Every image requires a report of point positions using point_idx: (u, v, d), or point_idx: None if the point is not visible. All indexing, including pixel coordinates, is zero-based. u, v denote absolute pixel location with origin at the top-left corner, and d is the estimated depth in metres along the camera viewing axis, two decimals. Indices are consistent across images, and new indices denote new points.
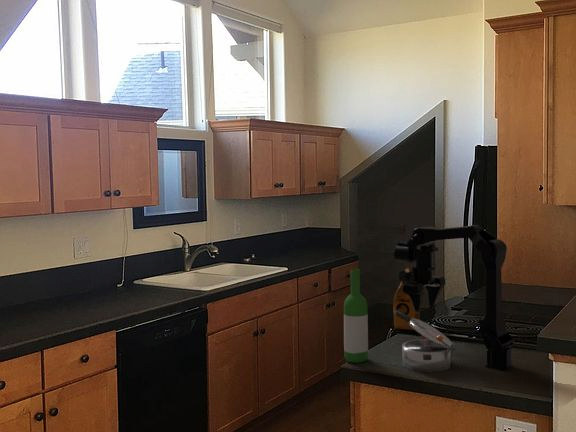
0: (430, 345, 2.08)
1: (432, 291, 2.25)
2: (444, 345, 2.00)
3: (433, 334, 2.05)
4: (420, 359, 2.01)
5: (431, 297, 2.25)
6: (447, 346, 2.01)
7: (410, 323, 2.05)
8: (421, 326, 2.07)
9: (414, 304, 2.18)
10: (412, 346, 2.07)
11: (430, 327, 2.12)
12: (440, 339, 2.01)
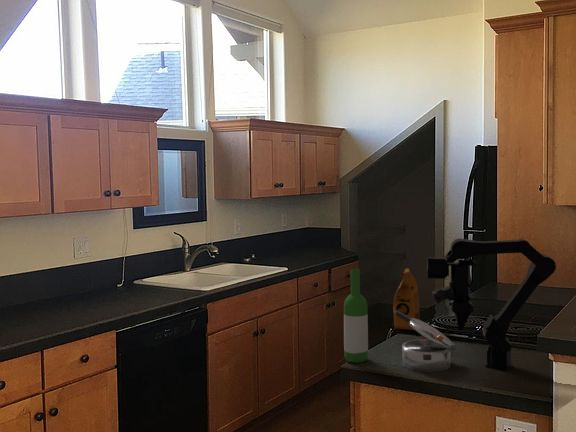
0: (430, 345, 2.08)
1: None
2: (444, 345, 2.00)
3: (433, 334, 2.05)
4: (420, 359, 2.01)
5: None
6: (447, 346, 2.01)
7: (410, 323, 2.05)
8: (421, 326, 2.07)
9: (459, 322, 2.02)
10: (412, 346, 2.07)
11: (430, 327, 2.12)
12: (440, 339, 2.01)
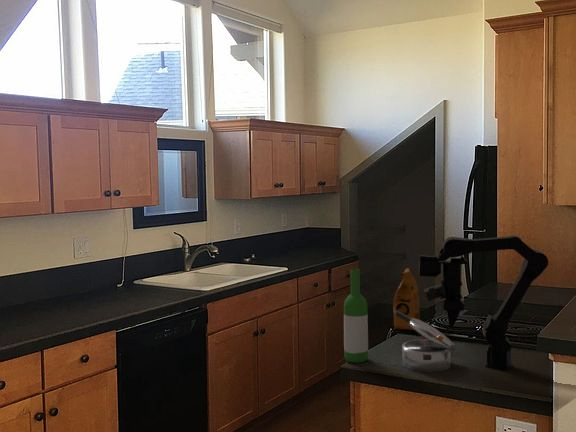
0: (430, 345, 2.08)
1: None
2: (444, 345, 2.00)
3: (433, 334, 2.05)
4: (420, 359, 2.01)
5: None
6: (447, 346, 2.01)
7: (410, 323, 2.05)
8: (421, 326, 2.07)
9: (450, 319, 2.04)
10: (412, 346, 2.07)
11: (430, 327, 2.12)
12: (440, 339, 2.01)
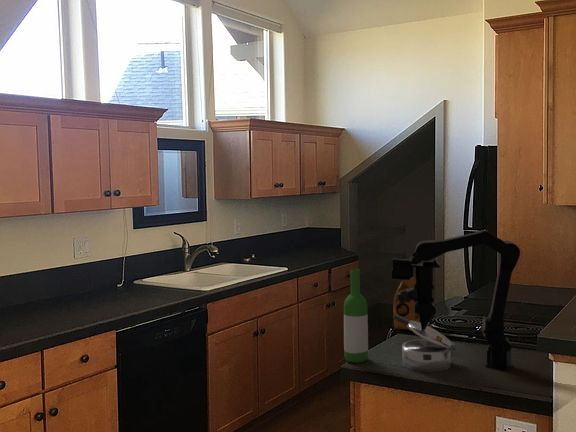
0: (430, 345, 2.08)
1: None
2: (444, 345, 2.00)
3: (432, 335, 2.05)
4: (420, 359, 2.01)
5: None
6: (447, 346, 2.01)
7: (408, 326, 2.05)
8: (420, 328, 2.07)
9: (422, 322, 2.06)
10: (412, 346, 2.07)
11: (429, 328, 2.12)
12: (439, 340, 2.01)
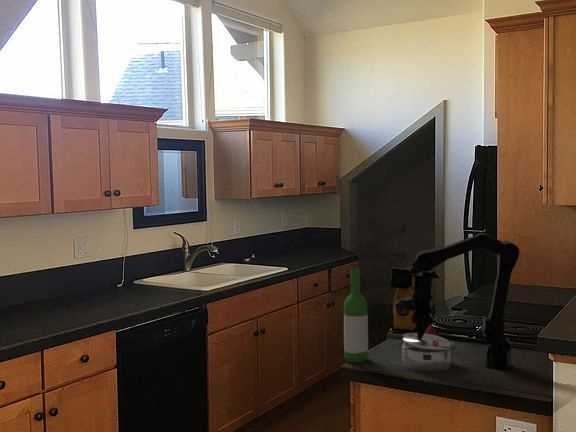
0: None
1: None
2: (442, 348, 2.01)
3: (429, 341, 2.05)
4: (420, 359, 2.01)
5: None
6: (445, 348, 2.02)
7: (403, 340, 2.06)
8: (415, 338, 2.07)
9: (418, 331, 2.06)
10: None
11: (426, 335, 2.12)
12: (436, 344, 2.01)
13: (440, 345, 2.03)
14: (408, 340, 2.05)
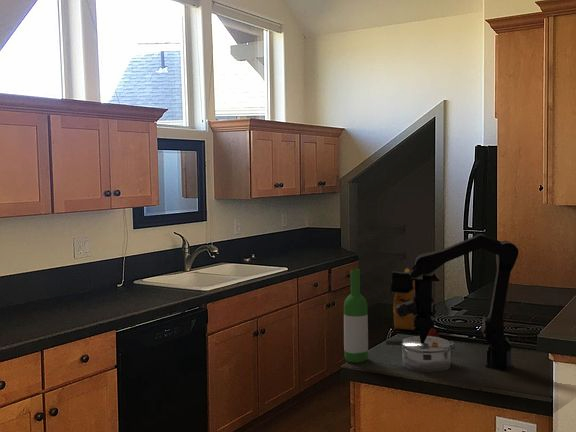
0: None
1: None
2: (442, 349, 2.01)
3: (428, 344, 2.05)
4: (420, 359, 2.01)
5: None
6: (445, 348, 2.02)
7: (403, 345, 2.06)
8: (415, 342, 2.07)
9: (421, 335, 2.06)
10: None
11: None
12: (435, 346, 2.02)
13: (440, 346, 2.03)
14: (407, 345, 2.05)
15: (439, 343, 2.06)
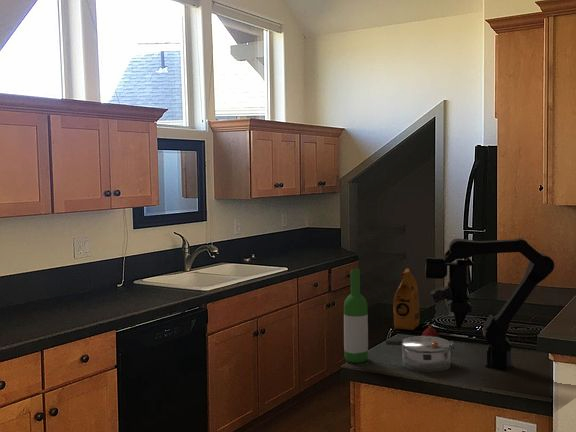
0: None
1: None
2: (442, 349, 2.01)
3: (428, 344, 2.05)
4: (420, 359, 2.01)
5: None
6: (445, 348, 2.02)
7: (403, 345, 2.06)
8: (415, 342, 2.07)
9: (457, 321, 2.04)
10: None
11: (425, 337, 2.12)
12: (435, 346, 2.02)
13: (440, 346, 2.03)
14: (407, 345, 2.05)
15: (439, 343, 2.06)
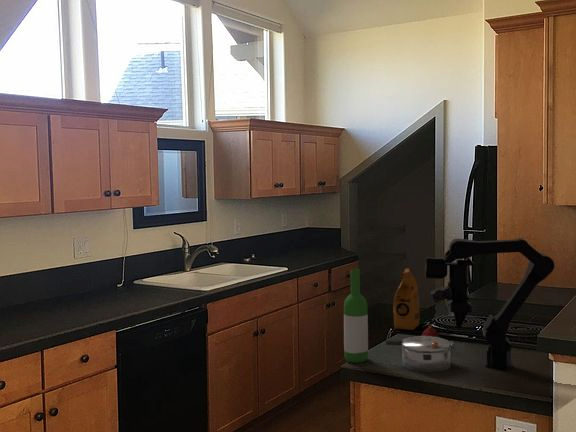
0: None
1: None
2: (442, 349, 2.01)
3: (428, 344, 2.05)
4: (420, 359, 2.01)
5: None
6: (445, 348, 2.02)
7: (403, 345, 2.06)
8: (415, 342, 2.07)
9: (457, 321, 2.04)
10: None
11: (425, 337, 2.12)
12: (435, 346, 2.02)
13: (440, 346, 2.03)
14: (407, 345, 2.05)
15: (439, 343, 2.06)
